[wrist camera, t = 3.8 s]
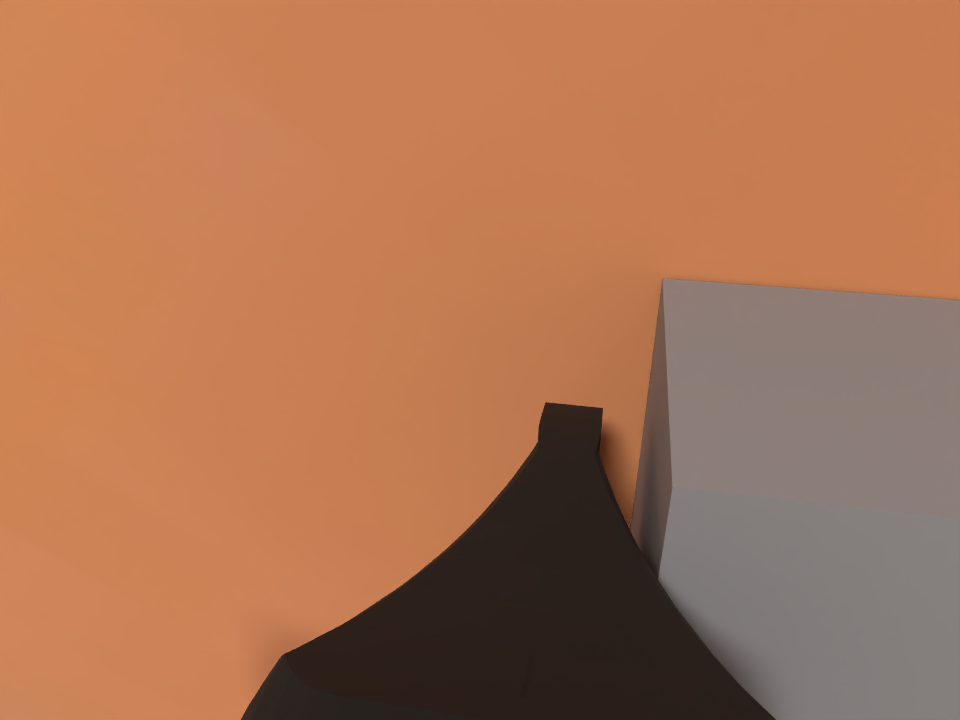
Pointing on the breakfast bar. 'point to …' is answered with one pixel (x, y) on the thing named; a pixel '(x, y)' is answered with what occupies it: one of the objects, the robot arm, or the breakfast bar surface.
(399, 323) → the breakfast bar surface
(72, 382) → the breakfast bar surface
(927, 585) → the grey cube
